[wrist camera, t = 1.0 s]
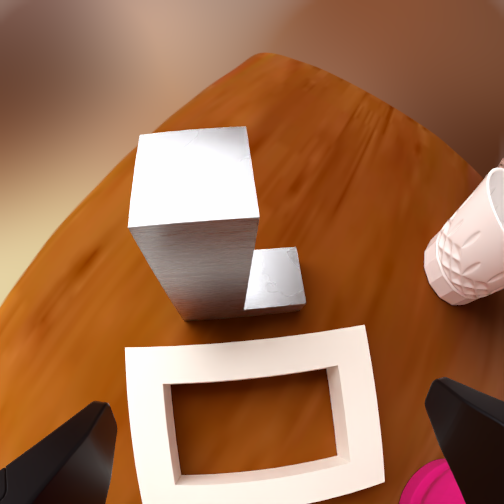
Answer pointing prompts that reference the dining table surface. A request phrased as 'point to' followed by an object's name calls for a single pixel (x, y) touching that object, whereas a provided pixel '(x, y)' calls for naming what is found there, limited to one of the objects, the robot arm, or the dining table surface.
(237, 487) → the block
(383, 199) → the dining table surface
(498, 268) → the white cup
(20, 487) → the robot arm
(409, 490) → the pepper mill
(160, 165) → the grey block
